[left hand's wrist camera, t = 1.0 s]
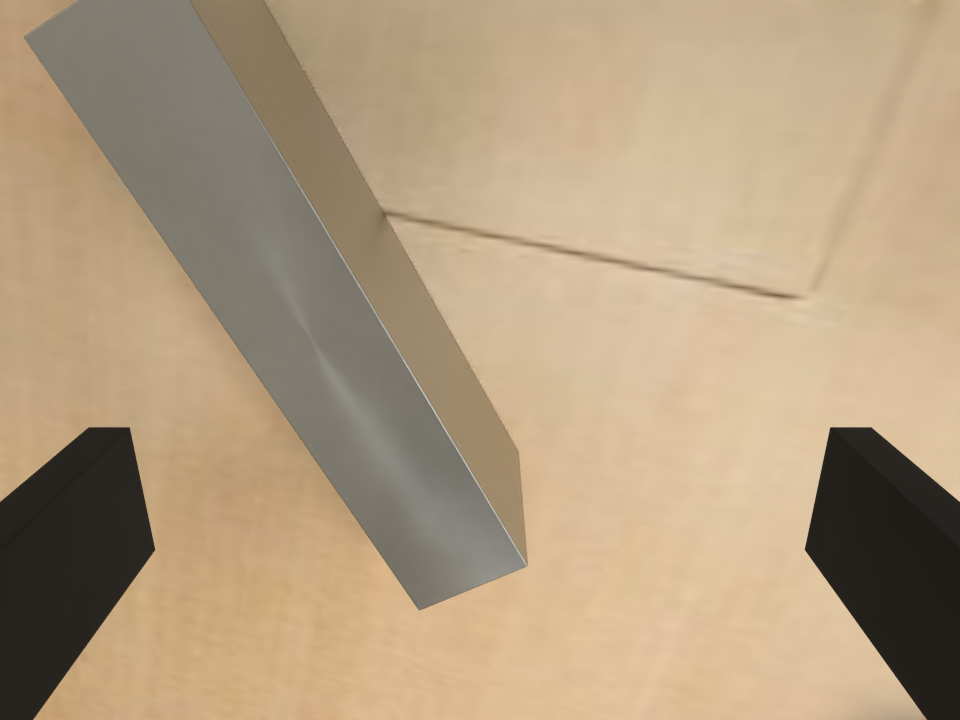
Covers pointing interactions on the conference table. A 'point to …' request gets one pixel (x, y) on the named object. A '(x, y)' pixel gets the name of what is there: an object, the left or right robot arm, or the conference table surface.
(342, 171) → the bar
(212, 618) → the conference table surface
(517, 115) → the conference table surface
